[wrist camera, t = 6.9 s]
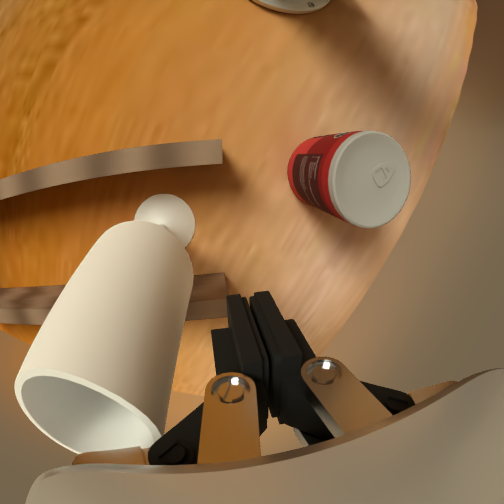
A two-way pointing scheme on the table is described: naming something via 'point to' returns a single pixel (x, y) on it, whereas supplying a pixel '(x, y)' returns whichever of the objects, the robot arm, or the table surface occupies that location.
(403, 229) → the table surface
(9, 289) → the walnut U-rest
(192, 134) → the table surface
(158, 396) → the champagne flute
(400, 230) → the table surface
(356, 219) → the canned food
